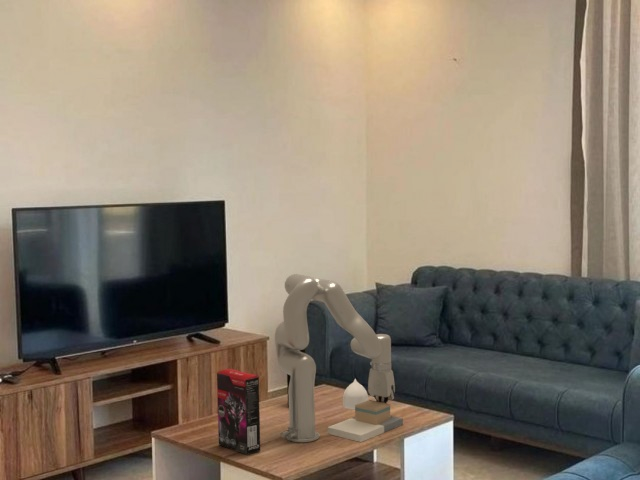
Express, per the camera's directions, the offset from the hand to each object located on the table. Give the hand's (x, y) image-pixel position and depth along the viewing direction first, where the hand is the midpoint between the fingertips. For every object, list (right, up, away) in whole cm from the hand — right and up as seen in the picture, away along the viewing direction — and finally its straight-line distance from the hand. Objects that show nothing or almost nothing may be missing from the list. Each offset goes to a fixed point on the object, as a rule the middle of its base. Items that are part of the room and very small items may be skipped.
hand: (382, 412), depth 311 cm
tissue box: (-34, -3, +26) cm, 43 cm away
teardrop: (-9, -3, +24) cm, 26 cm away
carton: (-4, -2, -5) cm, 6 cm away
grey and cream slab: (-7, -5, -8) cm, 11 cm away
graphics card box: (-53, -7, -26) cm, 60 cm away
